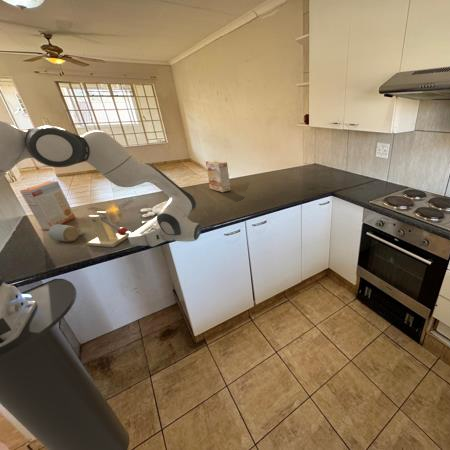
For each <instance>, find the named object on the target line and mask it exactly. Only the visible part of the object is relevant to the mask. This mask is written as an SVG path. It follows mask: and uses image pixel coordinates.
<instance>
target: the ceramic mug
mask: <svg viewBox="0 0 450 450" xmlns="http://www.w3.org/2000/svg"><path fill="white" fill-rule="evenodd" d="M47 231H48V232H47V234H48V237H49V239H51V240H52V241H54V242H66V243H70V242H71V243H72V242H74V241H76V240H77V239H78V238H79V236H81V235H84V231H83V230H79V229H78V228H77V227H76V226H72V225H67V224H56V225H53V226H52V227H51V228H50V229H48V230H47Z"/></svg>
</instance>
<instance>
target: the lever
mask: <svg viewBox="0 0 450 450" xmlns="http://www.w3.org/2000/svg"><path fill="white" fill-rule="evenodd" d="M95 215H97V216H100V218H101V221H103V222H104V223H106V224H108V225H110V226H111V227H113V228H114V230H115V231H116V230H117V234H120V235H125V233H126V232H128V231H129V229H128V228H127V227H124V226H122V227H120V226H118V225H116V224H115V223H114V222H112V221H111V222H110V221H108V220H106V219H104V218H105V216H104V215H102V214H100V213H98V214H97V213H96V214H95Z"/></svg>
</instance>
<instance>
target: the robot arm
mask: <svg viewBox="0 0 450 450" xmlns="http://www.w3.org/2000/svg"><path fill="white" fill-rule="evenodd" d="M27 159H34V160H35V161H37V162H38V163H40V164H42V165H44V166H48V167H51V168H67V167H71V166H74V165H77V164H81V163H87V164H89V165H90V166H92V167H93V168H94V169H95V170H97V172H99V173H100V174H101V175H102V176H103V177H104V178H105V179H107V181H109V182H110V183H112V184H113V185H115V186H117V187H120V188H134V187H136V186H140V185H142V184H144V183H150V184H152V185H153V186H155V187H156V188H157V189H159V190H160V191H162V192H163V193H164V194H165V195H167V197H168V199H167V201H168V202H167V203H166V205H165V206H164V207H163V208H162V210H161V211H160V213H159V214H157V215H158V216H157V215H156V216H157V217H156V216H155V217H156V218H155V217H154V218H153V219H150V220H143V221H142V222H140V225H141V226H140V227H139V228H138V229H136V230H135V231H134V232H133V231H131V230H128V232H126V233H125V235H126V236H128V238H127V240H128V242H129V245H132V246H138V247H139V246H142V247H143V246H144V247H146V246H149V247H150V248H151V247H156V246H157V245H160V244H162V243H166V242H172V241H176V242H183V243H189V242H195V241H197V240H198V239H199V238H200V235H201V233H202V226H201V224H200V223H199V222H193V220H192V221H191V220H190V219H189V215H190V214H191V213H192V212H193V210H194V209H195V208H196V206H197V205H196V204H197V203H196V200H195V197H194V196H193V195H192V194H191V193H190V192H188V191H187V190H185V189H183V188H182V187H181V186H179V185H178V184H177V183H175V181H173V180H172V179H171V178H169V177H168V176H167V175H166V174H165V173H164V172H162V171H161V170H160V169H158V168H157V167H155V166H154V165H152V164H150V163H148V162H143V161H141V160H139V159H138V158H136V157H135V156H134V155H133V154H132V153H131V152H130V151H129V150H128V149H126V147H124V146H123V145H122V144H121V143H120V142H118V141H117V140H116V139H115V138H114V137H112V136H111V135H109V134H108V133H107V132H105V131H102V130H91V131H88V132H86V133H84V134H82V135H78V134H77V133H73V132H70V131H69V130H67V129H65V128H63V127H60V126H56V125H49V124H46V125H45V124H44V125H40V126H37V127H34V128H33V127H32V128H28V129H20V128H18V127H16V125H15V126H14V125H13V124H11V123H9V122H7V121H4V120H0V181H1V180H3V178H4V177H5V176H6V175H7V174H8V173H9V172H10V171H12V169H14V168H15V167H16V166H17V165H18V164H19V163H20V162H22V161H24V160H27ZM21 293H22V292H21V291H20V290H19V289H18V288H17V287H16V286H15V285H13V284H12V285H10V284H8V283H5V282H4V280H3V278H2V276H1V275H0V347H2V346H4V345H6V344H8V343H9V342H11V341H13V340H14V339H16V338H17V337H18V336H19V335H20V333H21V332H22V330H23V328H24V326H25V325H26V323H27V321H28V319H29V318H30V316H31V314H32V312H33V311H34V309H35V307H36V306H37V303H36V302H35V301H27V300H26V298H25V297H31V295H26V294H21Z"/></svg>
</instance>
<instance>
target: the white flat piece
mask: <svg viewBox="0 0 450 450" xmlns="http://www.w3.org/2000/svg"><path fill="white" fill-rule="evenodd" d="M167 202H168V200H165V201H163V202H160V203H158V204H156V205H154V206H153V207H152V208H151V207H148V208H147V207H146V208H141V209H140V213H144V214H142V215H141V216H142V218H148V217H153V216H155V215H156V216H155V217H154V218H156V217H157V216H158V214H159V213H160V211H161V210H162V208H163V207H164V206H165V205H166V203H167ZM146 212H147V213H146Z"/></svg>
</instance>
